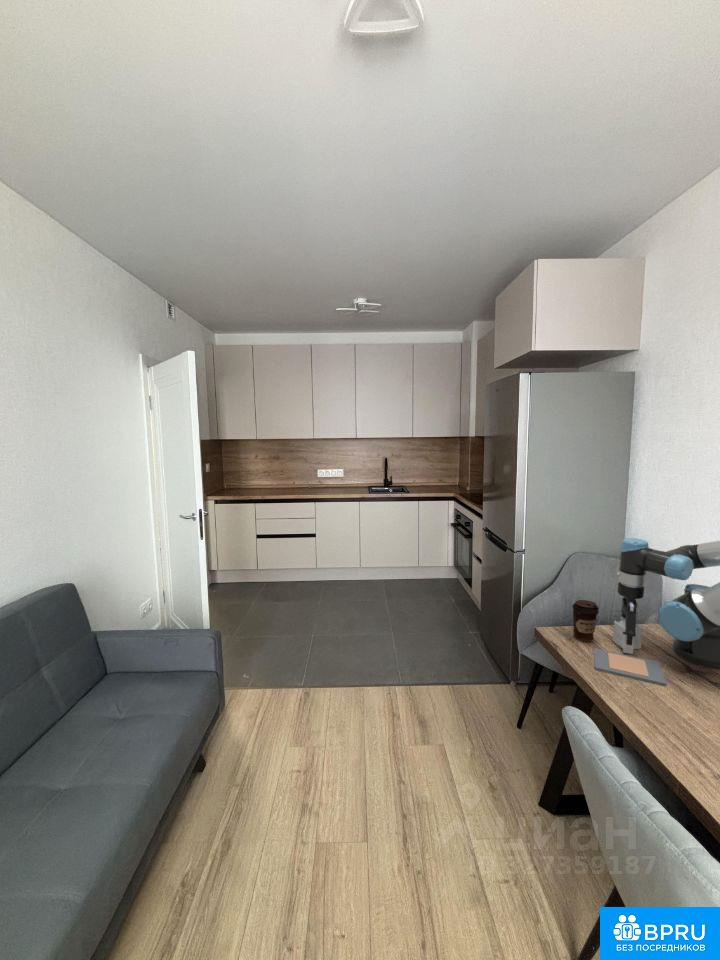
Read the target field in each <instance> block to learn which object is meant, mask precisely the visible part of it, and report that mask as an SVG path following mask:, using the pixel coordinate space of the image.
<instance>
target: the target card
mask: <svg viewBox="0 0 720 960" xmlns="http://www.w3.org/2000/svg"><path fill="white" fill-rule="evenodd" d="M593 660H594V670H595V671H598V672H603V673H606V674H607V673H608V674H613V675H616V676H619V677H620V676H621V677H624V678H630V679H634V680H637V681H642V682H647V683H651V684H654V685H657V686H658V685H659V686H662V687H663V686H664V687H667V682H666V678H665V676H664V672H663V669H662V666H661V663H660V662H659V660H658V661H657V660H652V659H647V658H643V657H638V656H633V655H629V654H626V653H625V654H623V653H619V652H616V651H615V652H614V651H610V650H605V649H600V648H596V647H594V648H593Z"/></svg>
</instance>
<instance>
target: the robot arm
mask: <svg viewBox="0 0 720 960" xmlns="http://www.w3.org/2000/svg"><path fill="white" fill-rule="evenodd" d="M619 551H620V556H619V557H620V560H619V569H618V572H617V573H616V575H617V576H618V583H617V594H618V595H620V596H621V597H623V598H621V599H622V600H621V602H622V604H621V611H620V612H621V614H620V615H621V617H620V621H626V624H625V632H623V634H624V646H623V648H622V653H625V654H628V655H629V654H630V655H634V649H633V647H634V637H635V636H636V634H635V631H636V625H637V622H636V621H637V608H638V602H637V600H640V599H643V598H644V595H645V587H644V586H645V585H646V575H647V573H646V572H649V573H652V574H655V575H658V576H659V575H660V576H664V577H667V578H670V579H673V580H679V581H687V580H688V579H690V577H691V576H692V574H693V571H694V570H696V569H697V570H699V569H704V568H712V567H713V568H714V567H720V540H717V541H716V540H715V541H710V542H704V543H699V544H685V545H681V546H679V547H676V548H674V549H670V550H667V551H664V550H658V549H654V548H650V546H649V542H648V541H647V540H645V539H641V538H636V537H627V538H624V539H622V541H621V546H620V550H619ZM683 592H684V593H683V594H682V595H679V596H678V597H676V598H674V599H672V600H670V601H666V602H664V603H663V604H662V605H661V606H660V608H659V610H658V620H659V624H660V626H661V627H662V628H663V630H664V631H665V632H666V633H667V634H668V635H669V636H671V637H672V638H674V639H673V641H672V647H671V649H672V651H673V652H674V654H675V655H677V656H679V657H681V658H682V659H684V660H686V661H687V662H690V663H693V664H695V665H699V666H703V667H707V668H712V669H713V668H714V669H720V581H719V582H718V583H715V584H714V585H711V586H707V585H703V584H696V583H689V584H686V585H685V587H684V590H683ZM630 631H631V632H630Z"/></svg>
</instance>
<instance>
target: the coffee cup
mask: <svg viewBox="0 0 720 960" xmlns="http://www.w3.org/2000/svg"><path fill="white" fill-rule="evenodd" d="M599 610H600V608H599V607H598V605H597V603H596V602H594V601H591V600H587V599H580V600H579V599H578V600H576V601H575V602H574V603H573V604H572V616H573V617H572V621H573V622H572V623H573V625H572V628H573V629H572V630H573V631H572V632H573V638H574V639H575V640H578V641H580V642H584V643H591V642H593V641H594V633H595V631H596V625H597V615H598V614H599Z"/></svg>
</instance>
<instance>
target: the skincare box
mask: <svg viewBox="0 0 720 960" xmlns="http://www.w3.org/2000/svg"><path fill="white" fill-rule="evenodd" d="M625 624H626V621H621V620H614V623H613V635H612V636H613V638H612V641H613V642H614V643H616V644H617V645H618V646H619V647H620V648H622V649H623V646H624V634H623V632H625ZM630 632H631V631H630ZM642 633H643V628H642V627H640V626H639V625H637V624H636V631H635V634H636V636H635V637H634V647H633V650H640V649H641V647H642V636H643V635H642Z"/></svg>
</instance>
